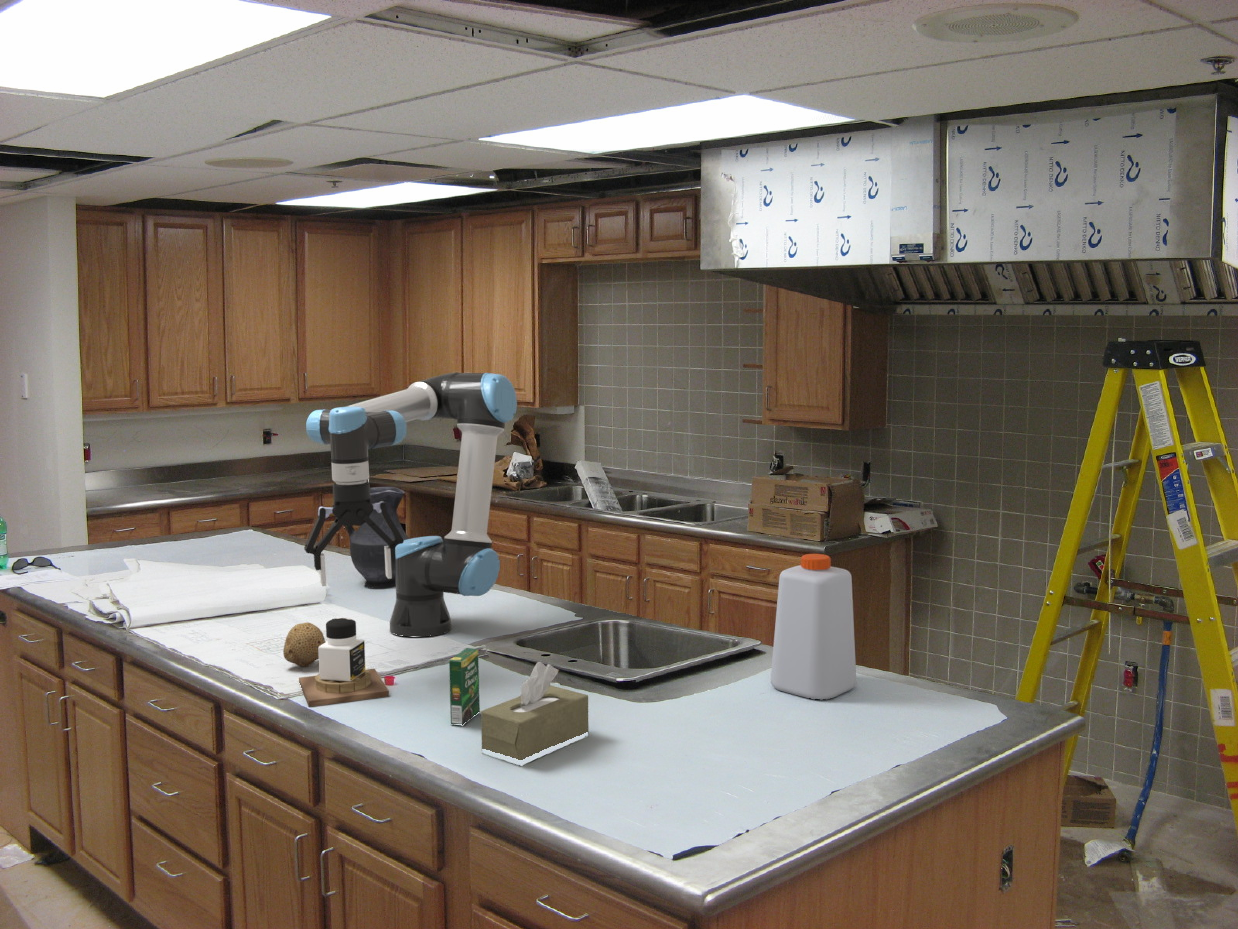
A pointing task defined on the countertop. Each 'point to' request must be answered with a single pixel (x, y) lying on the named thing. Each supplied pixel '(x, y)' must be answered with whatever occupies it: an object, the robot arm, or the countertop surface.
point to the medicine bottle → (341, 652)
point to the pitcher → (376, 540)
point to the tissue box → (535, 717)
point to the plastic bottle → (814, 630)
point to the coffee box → (464, 686)
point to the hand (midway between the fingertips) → (356, 581)
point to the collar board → (343, 689)
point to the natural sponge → (303, 644)
